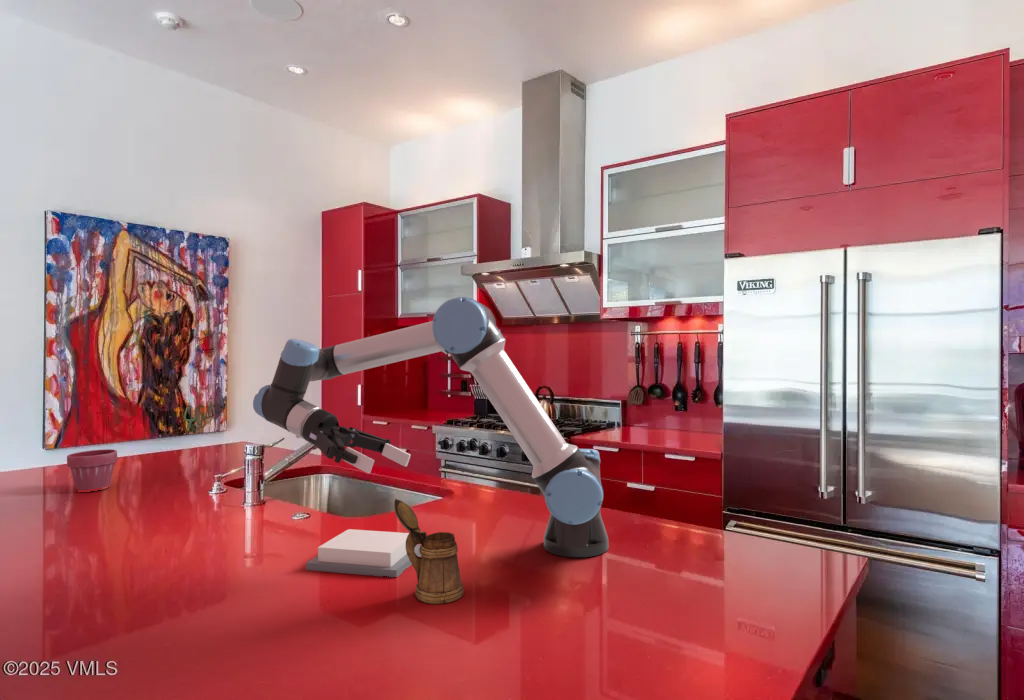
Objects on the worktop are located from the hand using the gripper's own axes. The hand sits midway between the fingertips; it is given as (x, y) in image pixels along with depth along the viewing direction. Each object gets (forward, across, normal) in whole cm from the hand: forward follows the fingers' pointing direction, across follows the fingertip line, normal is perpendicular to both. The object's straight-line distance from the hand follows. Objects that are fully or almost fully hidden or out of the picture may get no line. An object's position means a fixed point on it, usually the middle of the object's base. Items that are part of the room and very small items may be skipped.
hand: (390, 463), depth 123 cm
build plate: (-2, -9, -25) cm, 27 cm away
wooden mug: (+18, +2, -19) cm, 26 cm away
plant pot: (-126, -35, -68) cm, 147 cm away
